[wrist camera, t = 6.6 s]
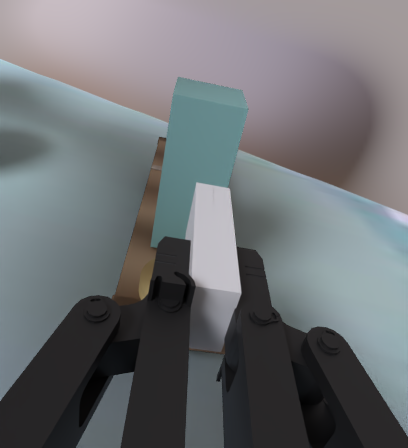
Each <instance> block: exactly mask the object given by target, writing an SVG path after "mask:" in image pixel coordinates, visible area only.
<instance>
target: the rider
mask: <svg viewBox="0 0 408 448" xmlns="http://www.w3.org/2000/svg"><path fill="white" fill-rule="evenodd" d="M247 113H248V107H247V104H246V100H245V97H244V94H243V92H242V90H238V89H234V88H229V87H224V86H219V85H214V84H210V83H205V82H200V81H194V80H190V79H186V78H181V77H178V79H177V82H176V86H175V89H174V93H173V99H172V105H171V112H170V119H169V125H168V132H167V139H166V145H165V152H164V159H163V165H162V172H161V179H160V186H159V192H158V199H157V206H156V212H155V219H154V226H153V232H152V239H151V246H150V247H155V248H157V246H158V243H159V242H160V241H161V240H162V239H163V238H164V237H165V236H167V237H173V238H179V239H185V236H186V229H187V225H188V220H189V215H190V210H191V206H192V201H193V196H194V191H195V186H196V182H197V183H203V184H208V185H214V186H219V187H225V188H228V185H229V181H230V177H231V174H232V170H233V166H234V162H235V158H236V154H237V151H238V147H239V143H240V139H241V135H242V132H243V128H244V124H245V120H246V116H247Z"/></svg>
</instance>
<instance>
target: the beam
mask: <svg viewBox="0 0 408 448" xmlns="http://www.w3.org/2000/svg"><path fill="white" fill-rule="evenodd" d="M166 139H167V138H162V137H159V140H158V146H157V150H156V153H155V157H154V160H153V164H152V167H151V171H150V174H149V178H148V181H147V185H146V188H145V192H144V195H143V199H142V202H141V206H140V209H139V213H138V216H137V220H136V223H135V227H134V230H133V234H132V237H131V241H130V244H129V248H128V251H127V255H126V258H125V261H124V265H123V268H122V272H121V275H120V279H119V282H118V286H117V289H116V293H115V295H113V297H112V300H114V301H115V302H116V303H117V304H118V305H119V306H122V305H129V304H134V303H136V302H139V301H141V300H142V299H143V298H145V297H146V295H147V294H148V292H149V286H150V280H151V278H152V273H153V268H154V262H155V257H156V251H157V248H155V247H150V246H151V239H152V232H153V226H154V219H155V212H156V206H157V199H158V192H159V186H160V179H161V172H162V165H163V159H164V152H165V145H166ZM189 350H196V351H203V352H211V353H219V354H225V344H224V345H223V348H222V351H221V352H215V351H208V350H200V349H193V348H189Z"/></svg>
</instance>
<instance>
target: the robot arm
mask: <svg viewBox="0 0 408 448" xmlns="http://www.w3.org/2000/svg"><path fill="white" fill-rule="evenodd" d="M224 344H225V355H224V358H223V361H222V364H221V367H220V370H219V372H218V375H217V380H216V381H219V382H220V379H221V376H222V398H223V427H224V448H408V437H407V435H406V433H405V432H404V430H403V429H402V427H401V426H400V424H399V422H398V421H397V419H396V418H395V416H394V415H393V413H392V412H391V410H390V408H389V407H388V405H387V404H386V402H385V401H384V399H383V398H382V396H381V394H380V393H379V391H378V390H377V388H376V387H375V385H374V383H373V382H372V380H371V379H370V377H369V376H368V374H367V373H366V371H365V369H364V368H363V366H362V365H361V363H360V362H359V360H358V359H357V357H356V355H355V354H354V352H353V351H352V349H351V348H350V346H349V344H348V343H347V342H346V341H345V339H344V338H343V337H342V336H341V335H339V334H338V333H337V332H335V331H334V330H331V329H329V328H326V327H315V328H312V329H311V330H310V331H309V332H308V333H304V332H302V331H300V330H297V329H295V328H292V327H290V326H288V325H286V324H285V323H284V322H282V319H281V317H280V314H279V313H278V312H277V311H276V310H275V309H274V308H273V307H272V305H271V300H270V295H269V290H268V285H267V280H266V275H265V271H264V265H263V259H262V258H261V257H260V255H259V254H258V253H257V251H256V250H252V249H246V248H239V247H236V240H235V231H234V222H233V213H232V204H231V195H230V188H225V187H219V186H214V185H208V184H203V183H197V182H196V186H195V191H194V196H193V201H192V206H191V210H190V215H189V220H188V225H187V229H186V236H185V239H179V238H173V237H167V236H165V237H164V238H163V239H162V240H161V241H160V242H159V243H158V246H157V251H156V257H155V262H154V268H153V273H152V278H151V280H150V286H149V292H148V294H147V295H146V297H145V298H143V299H142V300H141V301H139V302H136V303H134V304H129V305H122V306H119V305H118V304H117V303H116V302H115V301H114V300H112V299H111V298H109V297H105V296H99V295H97V296H89V297H87V298H84V299H82V300H80V301H79V302H78V303H77V304H76V305H75V306H74V307H73V308H72V310H71V311H70V312H69V313H68V315H67V316H66V317H65V319H64V320H63V321H62V322H61V324H60V325H59V326H58V328H57V329H56V330H55V331H54V333H53V334H52V335H51V337H50V338H49V339H48V340H47V342H46V343H45V344H44V346H43V347H42V348H41V349H40V351H39V352H38V353H37V355H36V356H35V357H34V358H33V360H32V361H31V362H30V364H29V365H28V366H27V367H26V369H25V370H24V371H23V373H22V374H21V375H20V376H19V378H18V379H17V380H16V382H15V383H14V384H13V385H12V387H11V388H10V389H9V391H8V392H7V393H6V394H5V396H4V397H3V398H2V400H1V401H0V448H76V446H77V444H78V442H79V440H80V438H81V437H82V435H83V433H84V431H85V429H86V427H87V425H88V423H89V421H90V419H91V418H92V416H93V414H94V412H95V410H96V408H97V406H98V404H99V402H100V400H101V399H102V397H103V395H104V393H105V391H106V389H107V387H108V385H109V383H110V381H111V380H112V378H113V375H118V374H123V373H129V372H134V376H133V382H132V387H131V393H130V398H129V404H128V409H127V415H126V420H125V426H124V431H123V437H122V442H121V448H185V428H186V405H187V383H188V360H189V348H193V349H200V350H208V351H215V352H221V351H222V348H223V345H224Z"/></svg>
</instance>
